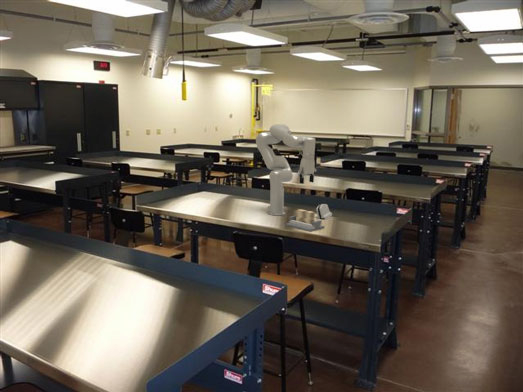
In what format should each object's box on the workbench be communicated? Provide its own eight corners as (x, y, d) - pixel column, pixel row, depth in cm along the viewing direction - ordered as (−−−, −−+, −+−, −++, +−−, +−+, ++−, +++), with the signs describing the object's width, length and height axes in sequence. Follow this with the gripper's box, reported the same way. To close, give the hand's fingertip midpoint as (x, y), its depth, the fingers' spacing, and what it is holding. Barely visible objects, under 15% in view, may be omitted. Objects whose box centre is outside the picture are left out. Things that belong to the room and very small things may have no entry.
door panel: (296, 223, 288) (296, 209, 286) (299, 222, 290) (299, 209, 288) (310, 227, 279) (311, 212, 278) (313, 226, 282) (314, 212, 280)
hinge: (325, 219, 305) (321, 205, 305) (318, 221, 307) (314, 207, 307) (332, 215, 320) (328, 201, 320) (326, 216, 322) (322, 203, 322)
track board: (285, 225, 287) (285, 217, 286) (299, 222, 296) (299, 214, 296) (310, 231, 273) (310, 223, 272) (324, 228, 283) (324, 219, 282)
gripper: (312, 155, 299) (310, 180, 302) (295, 156, 287) (293, 182, 291) (321, 156, 293) (319, 182, 297) (303, 158, 282) (301, 184, 285)
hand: (306, 182), depth 294 cm, fingers open, 9 cm apart
